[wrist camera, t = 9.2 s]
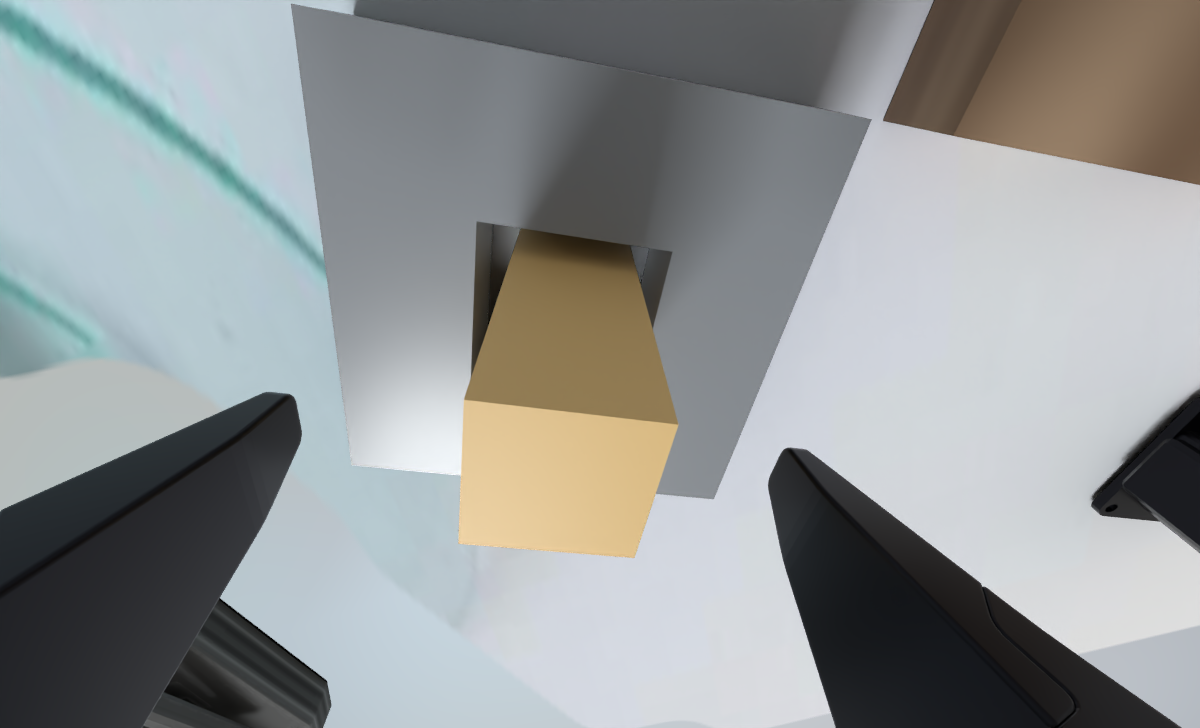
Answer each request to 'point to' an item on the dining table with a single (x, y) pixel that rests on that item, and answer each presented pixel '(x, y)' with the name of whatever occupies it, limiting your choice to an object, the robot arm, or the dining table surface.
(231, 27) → the dining table surface
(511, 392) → the ochre pin
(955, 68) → the walnut mount
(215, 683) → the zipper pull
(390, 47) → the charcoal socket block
